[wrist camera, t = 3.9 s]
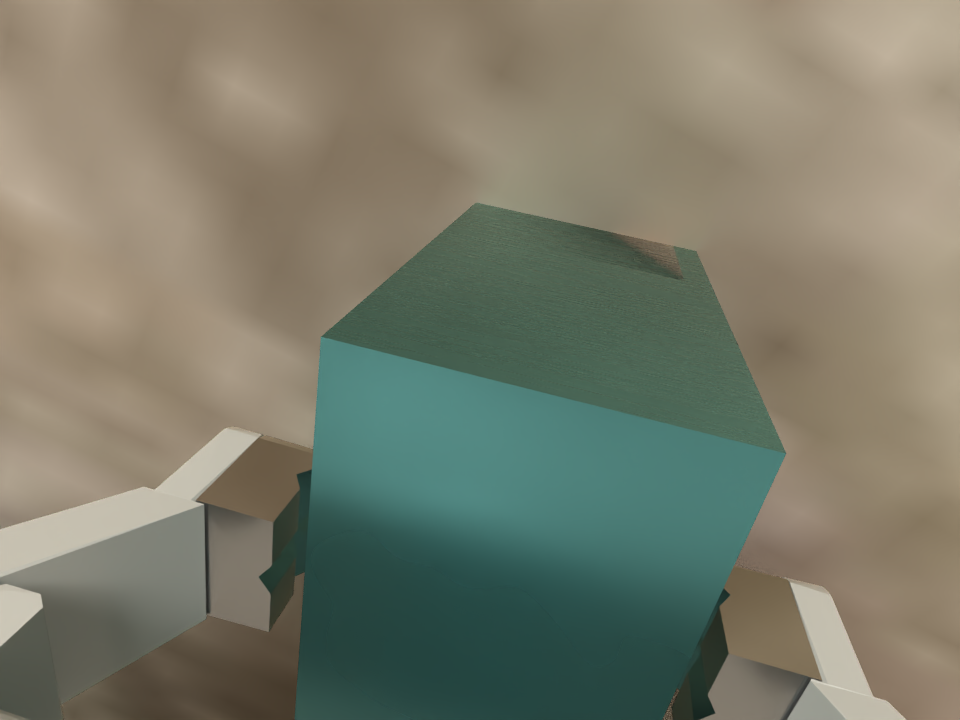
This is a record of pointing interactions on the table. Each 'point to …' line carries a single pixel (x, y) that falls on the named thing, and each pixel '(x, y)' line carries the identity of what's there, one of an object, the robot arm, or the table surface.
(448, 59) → the table surface
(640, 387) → the block
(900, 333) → the table surface
